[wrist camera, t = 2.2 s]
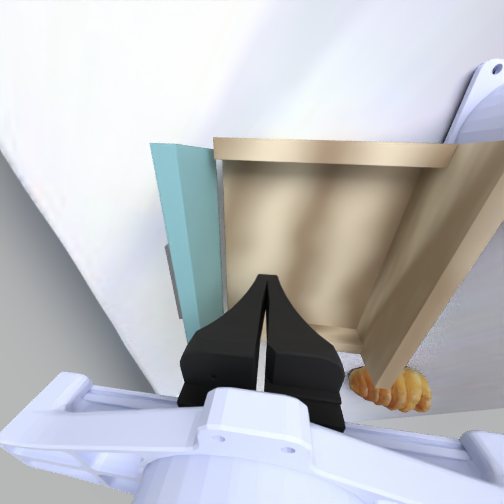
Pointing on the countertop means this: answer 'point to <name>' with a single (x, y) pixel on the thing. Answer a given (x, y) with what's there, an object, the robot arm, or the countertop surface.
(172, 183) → the panel
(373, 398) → the pastry
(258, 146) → the tray
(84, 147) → the countertop surface
